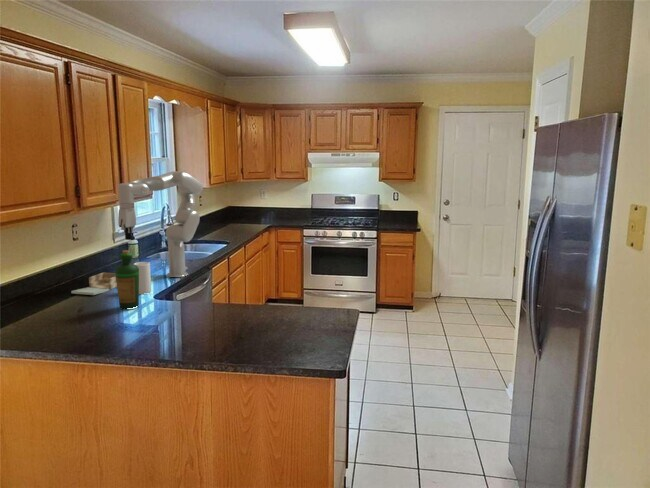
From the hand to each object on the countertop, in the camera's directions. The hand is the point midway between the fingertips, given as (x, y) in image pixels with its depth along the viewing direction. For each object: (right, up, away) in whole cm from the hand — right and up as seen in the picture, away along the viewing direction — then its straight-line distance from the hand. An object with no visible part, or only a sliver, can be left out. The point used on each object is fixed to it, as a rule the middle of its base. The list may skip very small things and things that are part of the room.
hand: (128, 239), depth 252 cm
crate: (-14, -27, +4) cm, 30 cm away
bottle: (+13, -34, -31) cm, 47 cm away
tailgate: (-15, -27, -3) cm, 31 cm away
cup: (+10, -29, -5) cm, 31 cm away
